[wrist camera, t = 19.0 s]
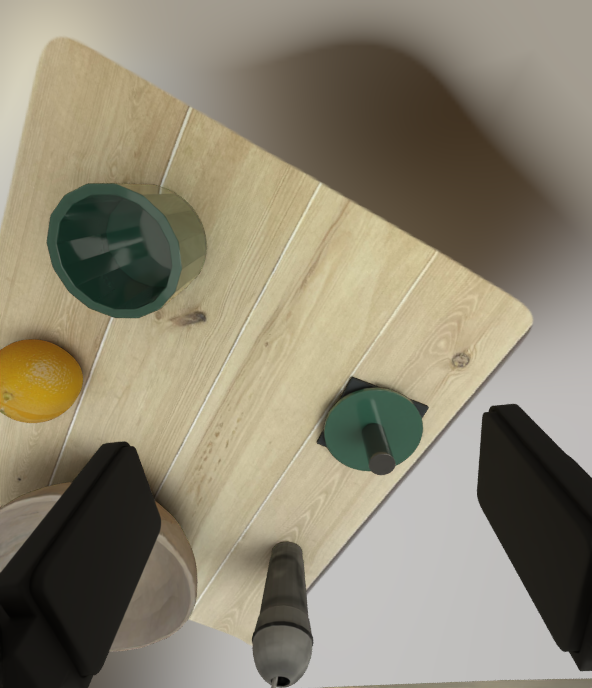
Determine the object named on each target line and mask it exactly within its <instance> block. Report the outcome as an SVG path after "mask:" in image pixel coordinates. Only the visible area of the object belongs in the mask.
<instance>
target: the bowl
mask: <svg viewBox="0 0 592 688" xmlns="http://www.w3.org/2000/svg"><path fill="white" fill-rule="evenodd" d="M71 483H72V482H68V483H61V484H56V485H51V486H48V487H44V488H41V489H37V490H35V491H32V492H29V493H27V494H24V495H21V496H19V497H17V498H15V499H14V500H12V501H10V502H9V503H7V504H5V505H4V506H2V507H0V572H1V571H2V570H3V569H4V567H5V566H6V565H7V564H8V562H9V561H10V560H11V559H12V557H13V556H14V555H15V554H16V552H17V551H18V550H19V549H20V547H21V546H22V545H23V544H24V542H25V541H26V540H27V539H28V537H29V536H30V535H31V533H32V532H33V531H34V530H35V528H36V527H37V526H38V525H39V523H40V522H41V521H42V520H43V518H44V517H45V516H46V515H47V513H48V512H49V511H50V510H51V508H52V507H53V506H54V505H55V503H56V502H57V501H58V500H59V498H60V497H61V496H62V495H63V493H64V492H65V491H66V489H67V488H68V487H69V486H70V484H71ZM155 503H156V506H157V508H158V511H159V514H160V517H161V530H160V533H159V535H158V537H157V540H156V542H155V544H154V547H153V549H152V552H151V554H150V556H149V559H148V561H147V563H146V566H145V568H144V570H143V573H142V575H141V577H140V580H139V582H138V585H137V587H136V589H135V592H134V594H133V596H132V599H131V601H130V603H129V606H128V608H127V610H126V613H125V615H124V618H123V620H122V622H121V625H120V627H119V629H118V632H117V634H116V636H115V639H114V641H113V643H112V646H111V648H110V650H109V652H115V651H124V650H131V649H137V648H142V647H145V646H147V645H150V644H154V643H156V642H158V641H160V640H163V639H166V638H168V637H169V636H171V635H172V634H174V633H175V632H177V631H178V630H179V629H180V628H181V627H182V626H183V625H184V623H185V622H186V621H187V620H188V619H189V617H190V616H191V614H192V611H193V609H194V606H195V603H196V597H197V568H196V562H195V558H194V554H193V551H192V548H191V546H190V544H189V542H188V540H187V538H186V536H185V534H184V532H183V530H182V528H181V527H180V525H179V524H178V522H177V521H176V520H175V519H174V517H173V516H172V515H171V514H170V513H169V512H168V511H167V510H165V509H164V508H163V507H162V506H161V505H160V504H159V503H157V502H156V501H155Z"/></svg>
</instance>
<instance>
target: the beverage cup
mask: <svg viewBox="0 0 592 688" xmlns="http://www.w3.org/2000/svg"><path fill="white" fill-rule="evenodd" d="M252 643H253V657H254V661H255V665H256V668H257V670H258V672H259V674H260V675H261V676H262V678H263V679H264V680H265V681H266V682H267V683H269V684H270V685H272V687H271V688H276V687H280V688H282V687H289V686H291V685H293V684H295V683H296V682H297V681H298V680H299V679H300V678H301V677H302V676H303V674H304V673H305V671H306V669H307V667H308V664H309V661H310V658H311V654H312V646H313V637H312V634H311V628H310V622H309V618H308V609H307V596H306V584H305V572H304V562H303V556H302V549H301V548H300V547H299V546H298V545H297V544H294V543H292V542H282V543H278V544H277V545H275V546H274V548H273V549H272V555H271V558H270V562H269V567H268V572H267V578H266V583H265V588H264V594H263V599H262V604H261V610H260V615H259V617H258V621H257V624H256V628H255V631H254V633H253V637H252Z"/></svg>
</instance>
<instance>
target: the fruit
mask: <svg viewBox="0 0 592 688" xmlns="http://www.w3.org/2000/svg"><path fill="white" fill-rule="evenodd" d="M82 385H83V375H82V371H81V368H80V366H79V364H78V363H77V361H76V360H75V359H74V358H73V357H72V356H71V355H70V354H69V353H68V352H66V351H65V350H63V349H62V348H60V347H59V346H57V345H55V344H53V343H50V342H47V341H43V340H36V339H28V340H21V341H17V342H14V343H12V344H10V345H8V346H6V347H4V348H3V349H1V350H0V412H1V413H2V414H4V415H6V416H7V417H9V418H11V419H14V420H17V421H20V422H26V423H39V422H45V421H49V420H52V419H54V418H56V417H58V416H60V415H61V414H63V413H64V412H65V411H66V410H68V409H69V408H70V407H71V406H72V404H73V403H74V402H75V400H76V399H77V397H78V395H79V393H80V391H81V388H82Z"/></svg>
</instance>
